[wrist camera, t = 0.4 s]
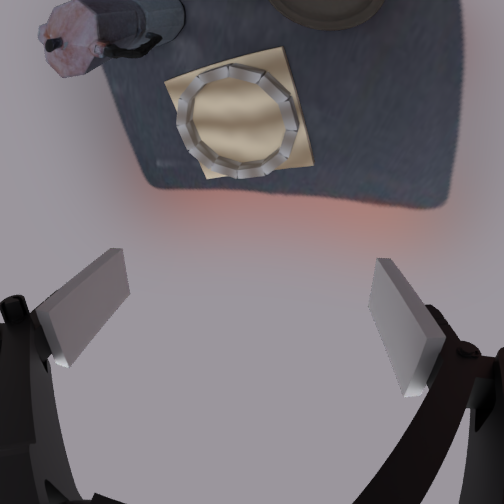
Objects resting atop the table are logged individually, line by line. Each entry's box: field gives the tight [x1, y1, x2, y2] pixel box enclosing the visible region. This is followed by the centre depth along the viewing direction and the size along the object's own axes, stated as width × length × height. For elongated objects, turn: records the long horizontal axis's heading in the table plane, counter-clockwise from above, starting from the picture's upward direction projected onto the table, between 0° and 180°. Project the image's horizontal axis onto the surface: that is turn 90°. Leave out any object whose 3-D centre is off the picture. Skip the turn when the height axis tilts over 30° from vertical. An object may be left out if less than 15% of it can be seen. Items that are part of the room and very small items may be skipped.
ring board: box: [164, 46, 315, 179], centre depth 41 cm, size 18×18×4 cm
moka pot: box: [38, 0, 185, 78], centre depth 26 cm, size 10×15×20 cm, turn 71°
